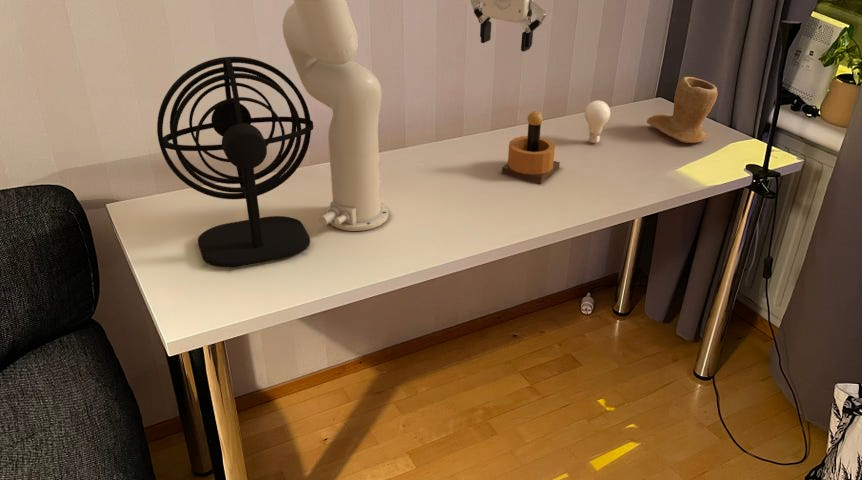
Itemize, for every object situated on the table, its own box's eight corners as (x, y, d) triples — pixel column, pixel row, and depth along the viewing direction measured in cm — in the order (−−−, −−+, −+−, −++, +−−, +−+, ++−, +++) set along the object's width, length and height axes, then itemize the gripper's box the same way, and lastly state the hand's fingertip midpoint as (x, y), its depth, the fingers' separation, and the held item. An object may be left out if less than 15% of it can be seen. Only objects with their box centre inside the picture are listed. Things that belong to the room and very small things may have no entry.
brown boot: (717, 142, 202) (729, 85, 194) (682, 149, 197) (693, 91, 189) (678, 121, 213) (688, 67, 205) (644, 128, 208) (653, 72, 200)
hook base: (541, 184, 177) (541, 177, 176) (501, 173, 181) (502, 167, 180) (559, 168, 184) (559, 162, 184) (521, 158, 188) (521, 152, 187)
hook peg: (534, 168, 180) (539, 115, 173) (521, 165, 181) (525, 112, 174) (541, 163, 182) (545, 110, 175) (528, 160, 184) (532, 107, 177)
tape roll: (540, 178, 176) (541, 158, 173) (499, 167, 180) (501, 146, 177) (560, 162, 183) (562, 142, 181) (521, 152, 188) (522, 132, 185)
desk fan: (313, 210, 162) (298, 41, 143) (336, 251, 149) (324, 70, 130) (175, 233, 152) (140, 54, 133) (187, 279, 139) (151, 87, 120)
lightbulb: (579, 145, 196) (583, 103, 190) (583, 136, 202) (588, 95, 196) (604, 149, 195) (609, 107, 189) (608, 140, 200) (613, 98, 194)
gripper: (464, -43, 159) (461, 42, 168) (541, -30, 152) (533, 57, 161) (483, -48, 164) (478, 35, 173) (557, -36, 158) (549, 49, 167)
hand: (505, 45), depth 167 cm, fingers open, 9 cm apart
